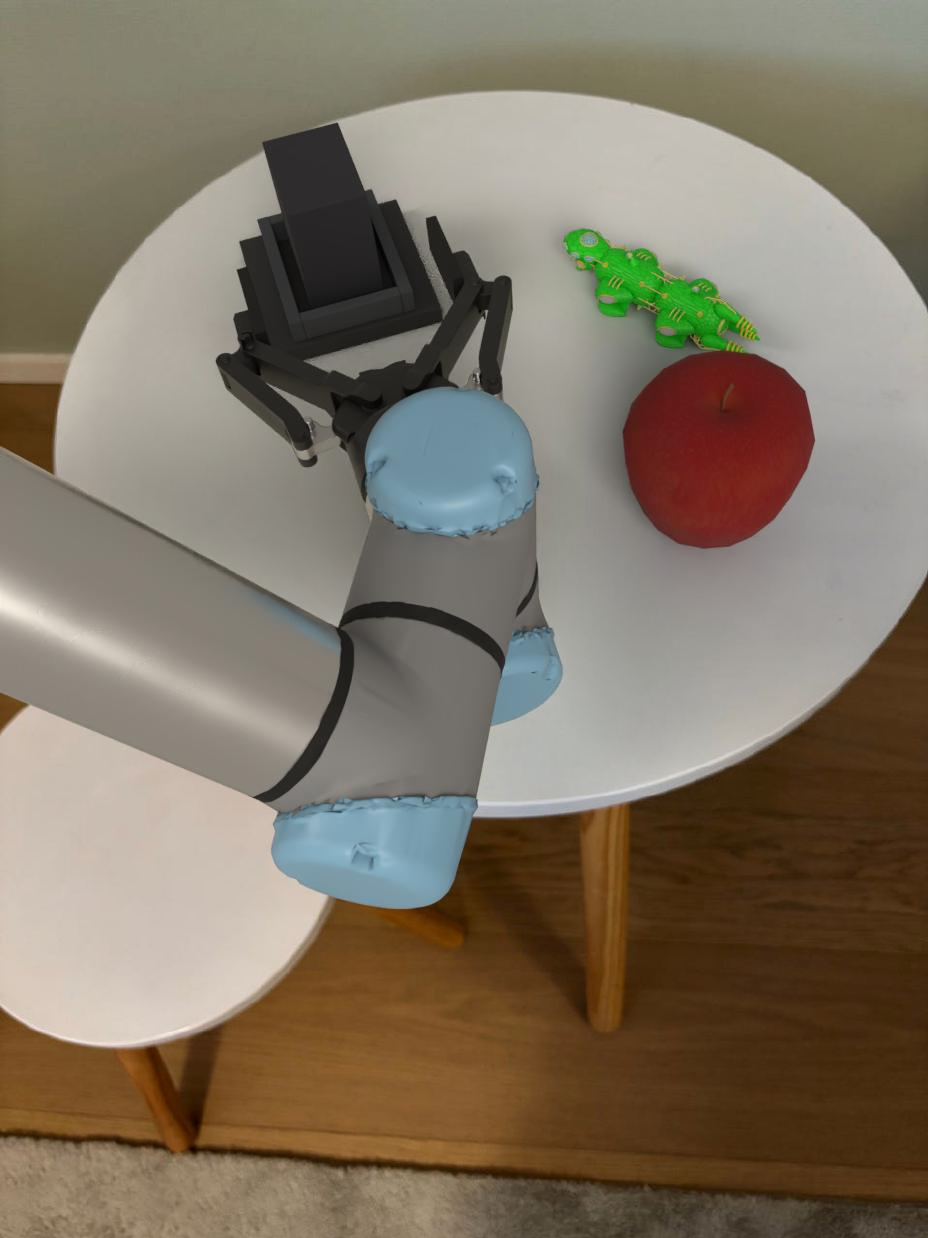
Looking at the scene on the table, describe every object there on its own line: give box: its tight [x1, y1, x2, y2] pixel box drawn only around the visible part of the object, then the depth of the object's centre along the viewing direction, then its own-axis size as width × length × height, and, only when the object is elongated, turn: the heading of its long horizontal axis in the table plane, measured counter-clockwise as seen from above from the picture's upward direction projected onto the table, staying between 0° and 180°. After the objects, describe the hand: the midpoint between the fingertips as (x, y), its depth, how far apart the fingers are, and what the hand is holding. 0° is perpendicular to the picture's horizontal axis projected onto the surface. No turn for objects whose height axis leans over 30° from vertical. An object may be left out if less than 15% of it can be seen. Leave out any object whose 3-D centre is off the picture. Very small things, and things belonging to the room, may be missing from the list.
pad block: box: [261, 122, 384, 310], centre depth 81 cm, size 6×9×10 cm, turn 17°
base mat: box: [239, 188, 444, 361], centre depth 85 cm, size 14×14×4 cm
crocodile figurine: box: [562, 227, 761, 353], centre depth 81 cm, size 7×18×4 cm, turn 49°
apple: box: [621, 350, 816, 549], centre depth 67 cm, size 12×12×13 cm
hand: (340, 256), depth 73 cm, fingers open, 13 cm apart
